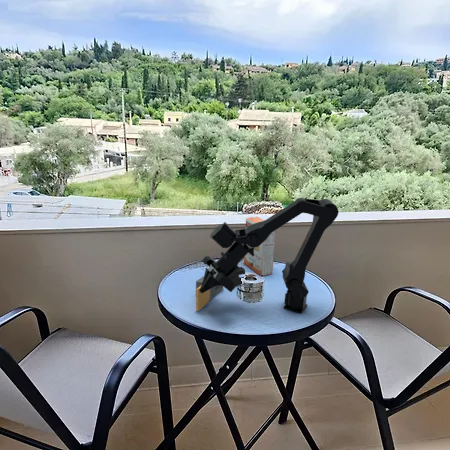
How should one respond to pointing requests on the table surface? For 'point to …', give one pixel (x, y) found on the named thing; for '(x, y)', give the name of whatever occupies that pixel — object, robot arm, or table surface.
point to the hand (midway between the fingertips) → (200, 292)
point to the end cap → (241, 271)
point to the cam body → (214, 290)
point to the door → (202, 298)
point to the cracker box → (261, 252)
